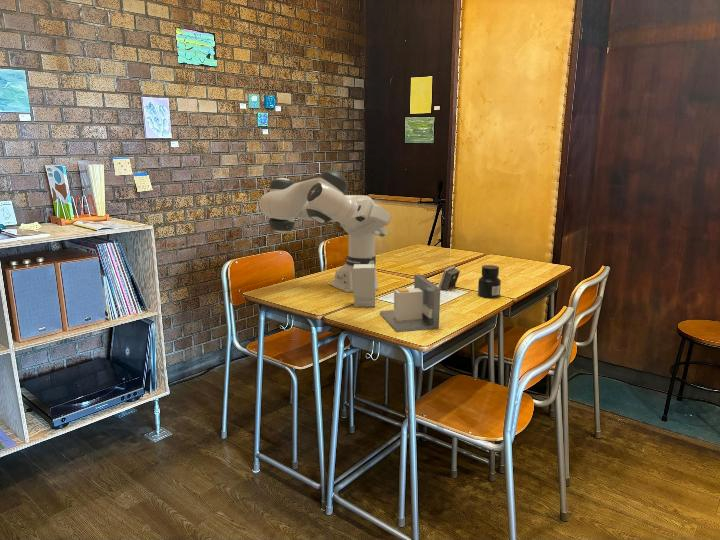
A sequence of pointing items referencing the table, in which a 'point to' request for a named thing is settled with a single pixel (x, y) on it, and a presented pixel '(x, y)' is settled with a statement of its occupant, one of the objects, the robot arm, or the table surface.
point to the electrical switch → (449, 278)
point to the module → (408, 304)
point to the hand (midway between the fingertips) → (385, 234)
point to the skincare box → (364, 285)
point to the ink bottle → (489, 282)
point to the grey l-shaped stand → (428, 309)
